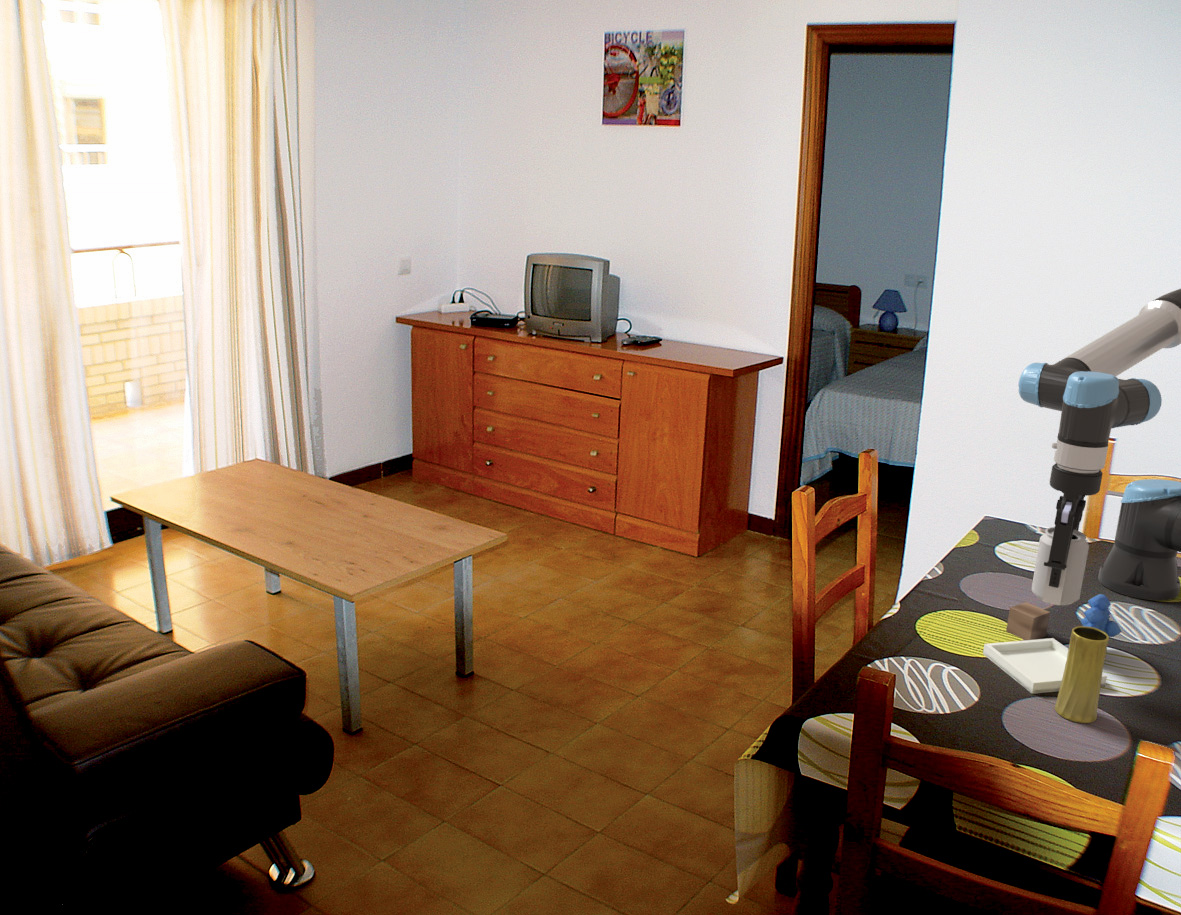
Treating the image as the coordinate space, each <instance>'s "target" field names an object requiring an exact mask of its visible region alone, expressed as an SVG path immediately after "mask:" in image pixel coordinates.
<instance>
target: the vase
mask: <svg viewBox="0 0 1181 915" xmlns="http://www.w3.org/2000/svg"><path fill="white" fill-rule="evenodd" d="M1109 641H1110V637H1109V636H1108V635H1107V634H1106V633H1105V632H1104V631H1102V630H1099V629H1097V628H1093V627H1087V626H1083V625H1078V626H1075V627H1073V628H1072V629H1071V634H1070V638H1069V643H1068V644H1069V645H1068V655H1067V661H1066V664H1065V669H1064V674H1063V678H1062V682H1061V685H1060V689H1059V691H1058V694H1057V698H1056V703H1055V705H1054V709H1055V712H1056V713H1057V714H1058V715H1059V716H1060V717H1062V718H1064V719H1065V720H1068V721H1070V722H1073V723H1074V722H1075V723H1080V724H1090V723H1094V722H1095V721H1096V720H1097V718H1098V707H1099V701H1100V700H1099V699H1100V693H1101V688H1102V687H1101V679H1102V673H1103V671H1104V666H1105V660H1106V656H1107V649H1108V644H1109Z"/></svg>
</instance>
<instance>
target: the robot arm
mask: <svg viewBox="0 0 1181 915" xmlns="http://www.w3.org/2000/svg"><path fill="white" fill-rule="evenodd" d="M1179 345H1181V288H1178V289H1176V290H1173V291H1170V292H1168V293H1166V294H1163V295H1161V296H1159V297H1158V298H1157V297H1156V298H1155V299H1153V300H1151V301H1150V302H1148V303H1146V304H1145V305H1144V306H1143V307H1141V309H1140V310H1139V313H1138V314H1137V315H1136V316H1135V317H1133V318H1131V319H1129V320H1128V321H1126V322H1124V323H1122V324H1120V325H1119V326H1117V327H1116V328H1114V329H1112V330H1111V331H1109V332H1107V333H1105V334H1103V335H1102V336H1100V337H1099V338H1097V339H1095V340H1092V341H1091V342H1090V343H1088V344H1087V345H1084V346H1083V347H1081V348H1080V349H1078V350H1076V351H1074V352H1073V353H1071V354H1068V355H1067V356H1066V357H1064V358H1062V359H1061V360H1059V361H1057V362H1055V363H1053V364H1049V363H1047V362H1032V363H1030V364H1028V365H1027V366H1026V367H1025V368H1024V370H1023V371H1022V372H1021V374H1020V377H1019V381H1018V393H1019V396H1020V398H1021V400H1023V401H1024V402H1026V403H1029V404H1031V405H1034V406H1038V407H1039V408H1046V409H1050V410H1053V411H1059V412H1061V415H1060V421H1059V429H1058V433H1057V439H1056V442H1053V443H1052V444H1051V448H1052V449H1054V450H1055V451H1054V458H1053V461H1054V464H1053V465H1052V467H1051V472H1050V478H1049V485H1050V487H1051V488H1052V489H1053V490H1055V491H1060V492H1061V493H1062V495H1060V496H1059V498H1058V499H1057V501H1056V506H1055V509H1056V515H1055V519H1054V527H1055V529H1054V534H1053V540H1052V545H1051V550H1050V555H1049V561H1048V562H1044V566H1048V571H1047V577H1046V582H1045V588H1044V594H1043V600H1041V601H1042V602H1043V603H1046V604H1052V605H1055V606H1061V605H1060V603H1061V598H1062V592H1063V587H1064V581H1065V576H1066V570H1067V568H1066V567H1067V565H1066V563H1067V558H1068V554H1069V549H1070V544H1071V540H1072V539H1075V536H1074V535H1073V531H1074V530H1077V531H1079V528H1080V524H1081V521H1082V519H1083V512H1084V511H1085V509H1086V505H1087V504H1086V503H1087V500H1085V497H1086V496H1094V495H1097V494H1098V493H1099V492H1100V490H1101V484H1102V480H1103V472H1102V470H1103V469H1104V468H1105V466H1106V461H1107V456H1108V449H1109V441H1110V440H1109V439H1110V435H1111V432H1112V429H1115V428H1122V427H1128V426H1137V425H1141V424H1143V423H1144V422H1149V421H1150V420H1152V419H1154V417H1156V416H1157V414H1158V413H1159V412H1160V410H1161V407H1162V403H1163V402H1162V401H1163V399H1162V395H1161V392H1160V389H1159V388H1158V386H1157V385H1155V383H1153V382H1152V381H1150V380H1148V379H1145V378H1136V377H1135V378H1134V377H1131V378H1127V379H1123V378H1118V376H1119V375H1121V374H1123V373H1124V372H1125V371H1127V370H1129V369H1130V368H1132V367H1134V366H1135V365H1138V364H1139V363H1140V362H1142V361H1143V360H1145V359H1147V358H1149V357H1150V356H1152V355H1153V354H1155V353H1157V352H1159V351H1161V350H1162V349H1173V348H1176V347H1177V346H1179ZM1120 503H1121V505H1120V510H1119V515H1118V520H1117V526H1116V531H1115V536H1114V542H1113V545H1112V548H1111V550H1110V551H1109V553H1108V555H1107V557H1106V558H1105V560H1104V562H1103V563H1102V564H1101V566H1100V568H1099V572H1098V574H1097V575H1098V577H1097V579H1098V582H1099V584H1101V585H1102V586H1104V587H1105V588H1106V589H1109V590H1111V591H1113V592H1115V593H1118V594H1121V595H1123V596H1127V597H1131V598H1136V599H1140V600H1141V599H1142V600H1146V601H1169V600H1174V599H1176V598H1177V597H1178V596H1179V595H1180V594H1179V593H1180V589H1181V580H1180V576H1179V567H1178V562H1177V557H1178V553H1181V481H1177V480H1169V479H1161V478H1160V479H1159V478H1157V479H1156V478H1155V479H1154V478H1152V479H1151V478H1149V479H1148V478H1146V479H1139V480H1133V481H1132V482H1129V483H1128V484H1127V485H1126V486H1125V489H1124V491H1123V495H1122V498H1121V500H1120ZM1054 560H1055V561H1054Z"/></svg>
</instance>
